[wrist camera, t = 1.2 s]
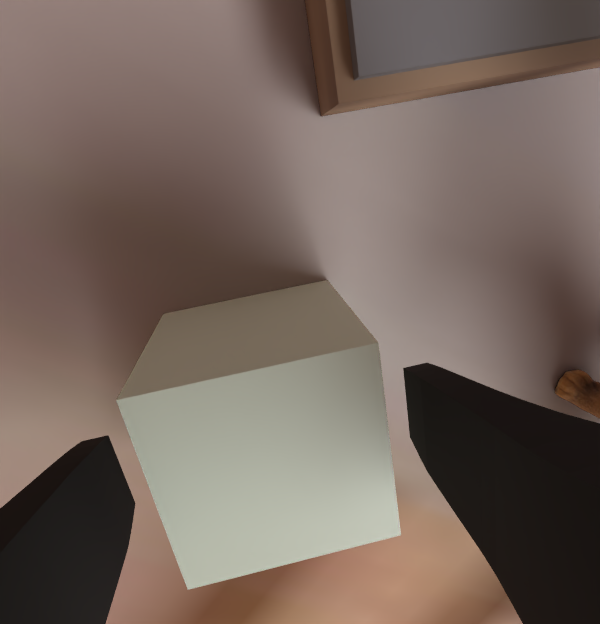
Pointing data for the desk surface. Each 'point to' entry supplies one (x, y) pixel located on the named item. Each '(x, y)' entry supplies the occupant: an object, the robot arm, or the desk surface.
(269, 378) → the sage block
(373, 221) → the desk surface
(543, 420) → the robot arm
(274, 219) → the desk surface
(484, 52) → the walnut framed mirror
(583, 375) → the lion figurine
